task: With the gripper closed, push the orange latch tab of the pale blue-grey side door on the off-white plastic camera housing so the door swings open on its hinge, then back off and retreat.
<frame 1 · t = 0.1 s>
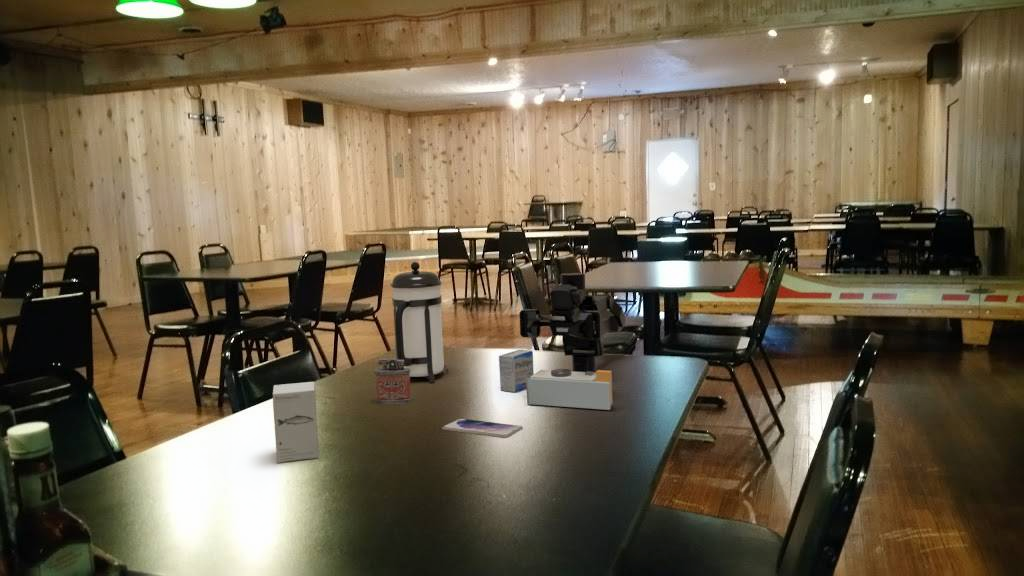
hand: (547, 330, 154), 17 cm above the table, tool horizontal, fingers open, 9 cm apart
side door: (568, 387, 155), point 4 cm above the table, hinge at 0.0°
lighter: (394, 402, 165), on the table
smartphone: (482, 431, 143), on the table
camera housing: (566, 401, 160), on the table
supplement box: (298, 455, 132), on the table
medicine box: (517, 389, 173), on the table
coffee press: (420, 379, 187), on the table
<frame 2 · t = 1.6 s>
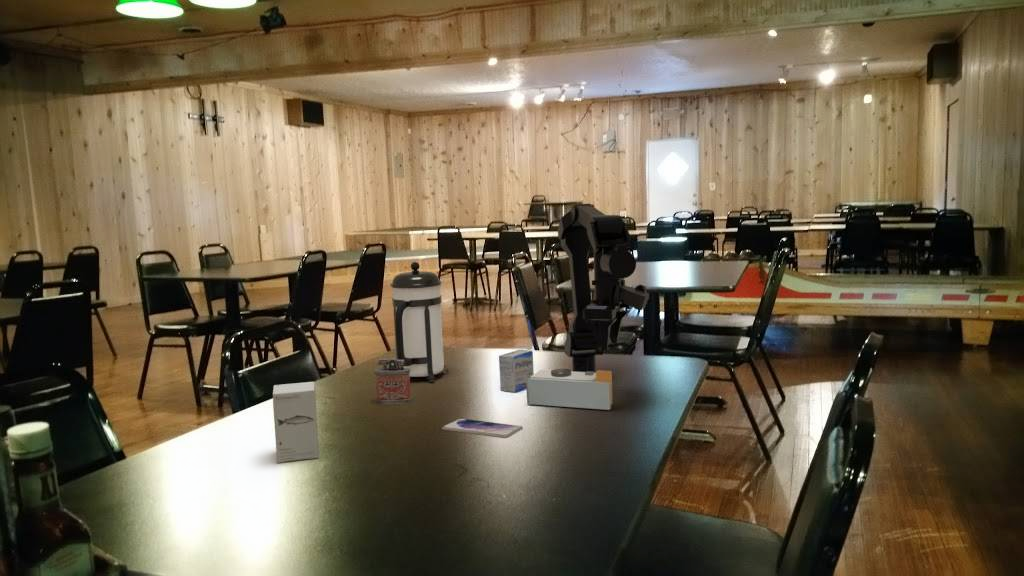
hand: (609, 346, 157), 12 cm above the table, tool pointing down, fingers open, 8 cm apart
nothing on the table moved.
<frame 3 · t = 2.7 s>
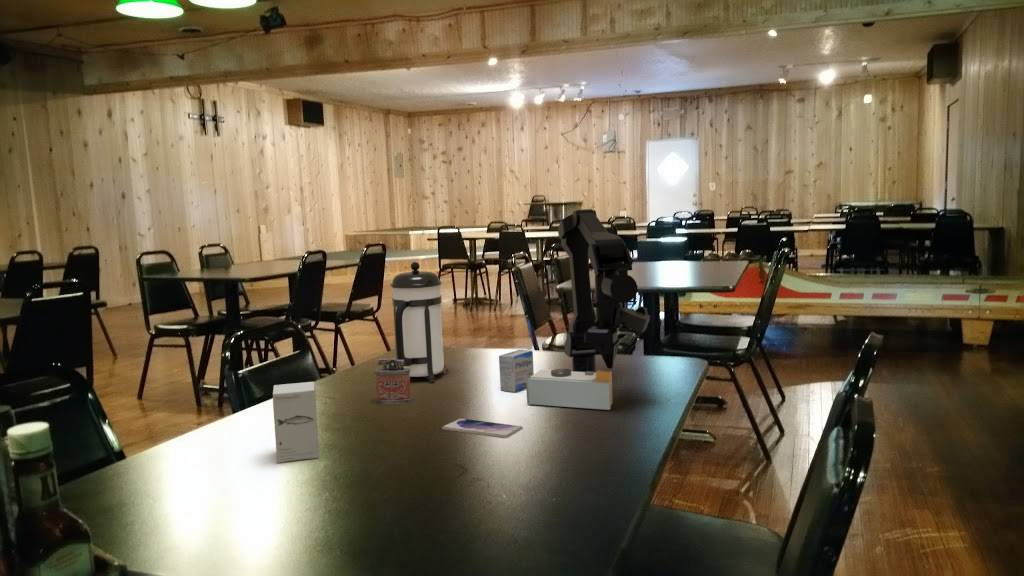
hand: (610, 368, 158), 7 cm above the table, tool pointing down, fingers closed
nothing on the table moved.
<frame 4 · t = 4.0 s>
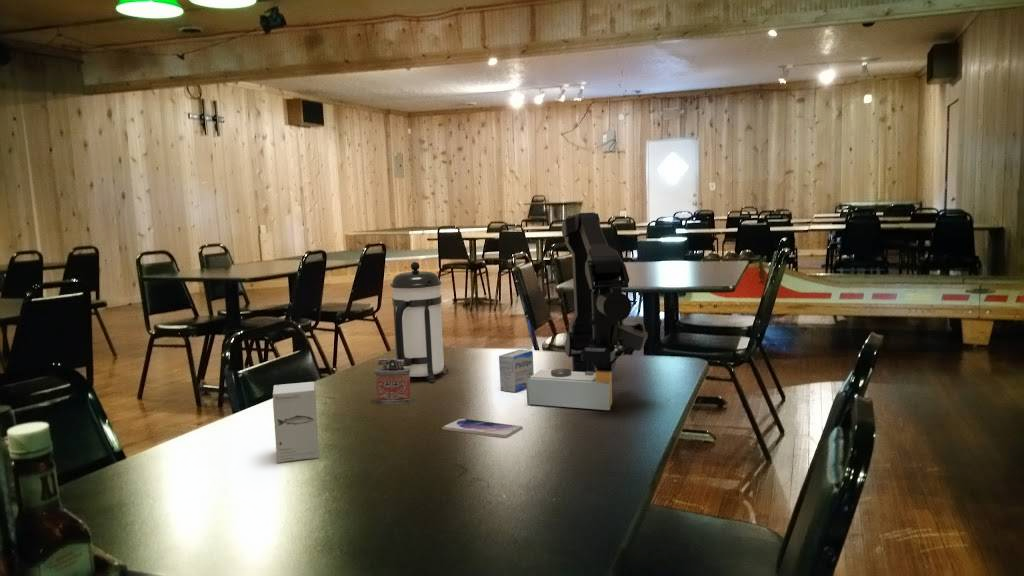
hand: (608, 386, 155), 4 cm above the table, tool pointing down, fingers closed
side door: (568, 387, 155), point 4 cm above the table, hinge at 1.0°, touching gripper
everything else where it was.
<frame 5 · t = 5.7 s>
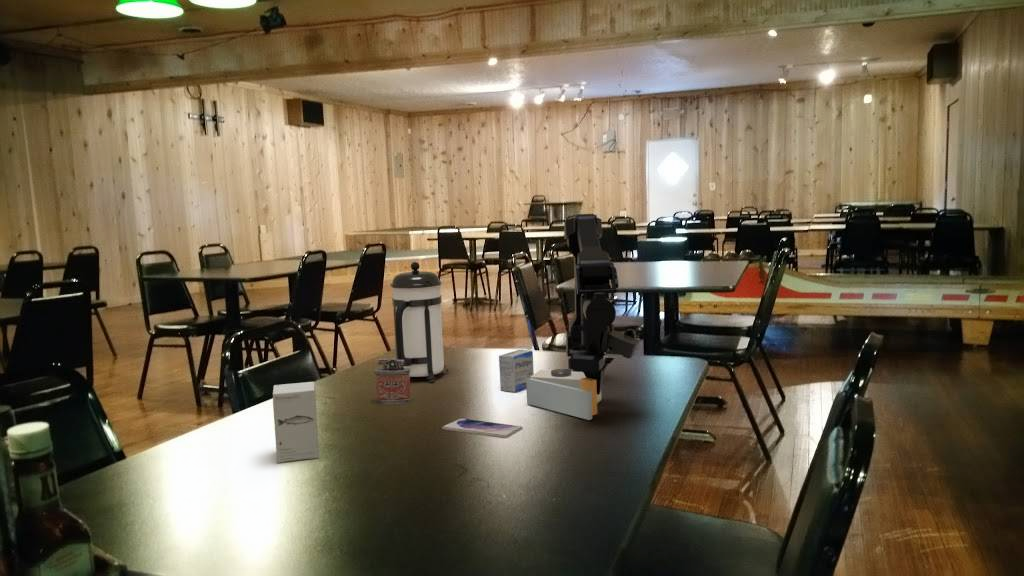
hand: (597, 394, 149), 4 cm above the table, tool pointing down, fingers closed
side door: (559, 392, 152), point 4 cm above the table, hinge at 26.4°, touching gripper
everything else where it was.
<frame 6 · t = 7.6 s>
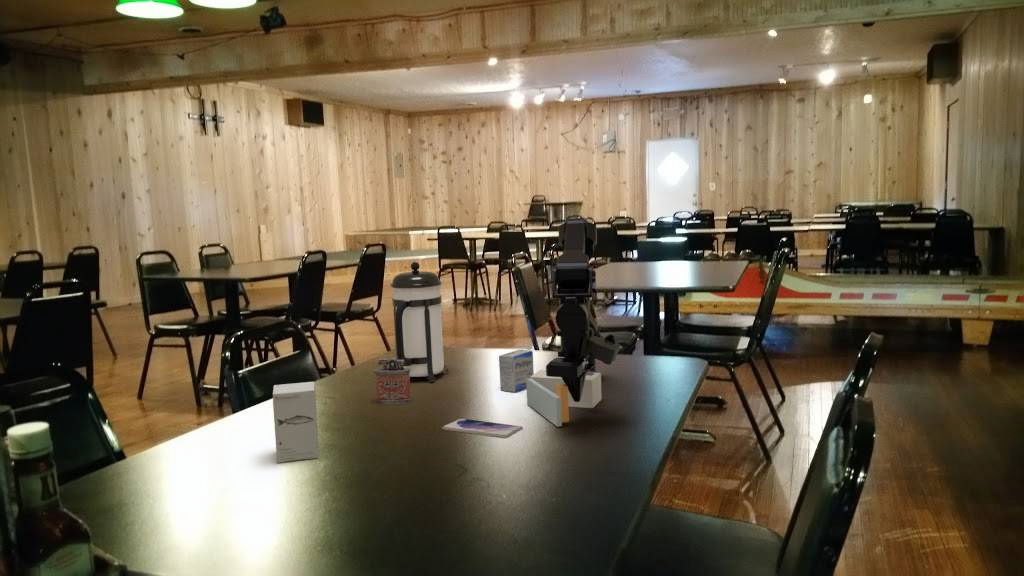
hand: (577, 401, 144), 4 cm above the table, tool pointing down, fingers closed
side door: (545, 395, 150), point 4 cm above the table, hinge at 50.1°, touching gripper
everything else where it was.
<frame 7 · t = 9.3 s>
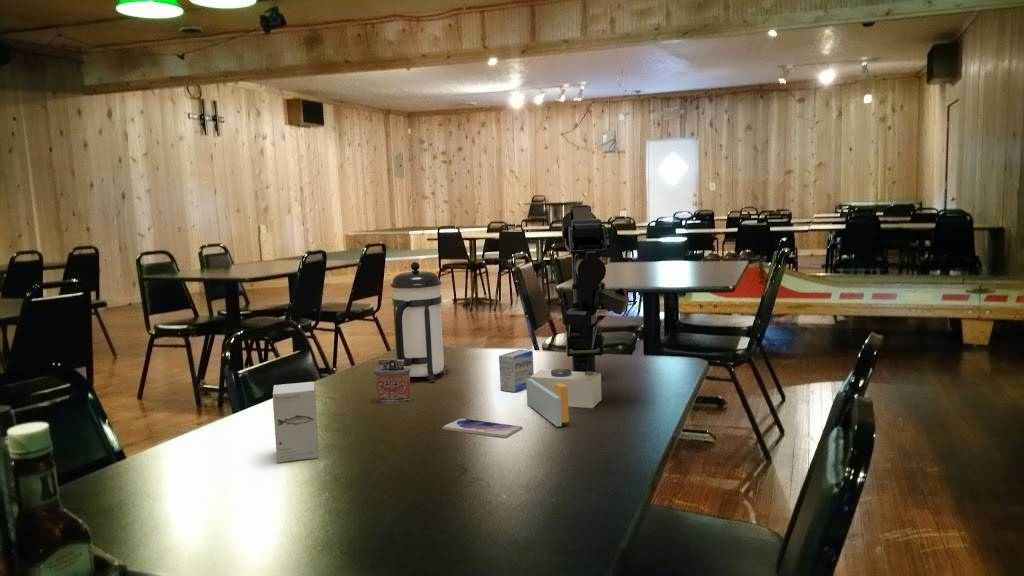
hand: (589, 349, 158), 11 cm above the table, tool pointing down, fingers closed
side door: (545, 395, 150), point 4 cm above the table, hinge at 50.2°
everything else where it was.
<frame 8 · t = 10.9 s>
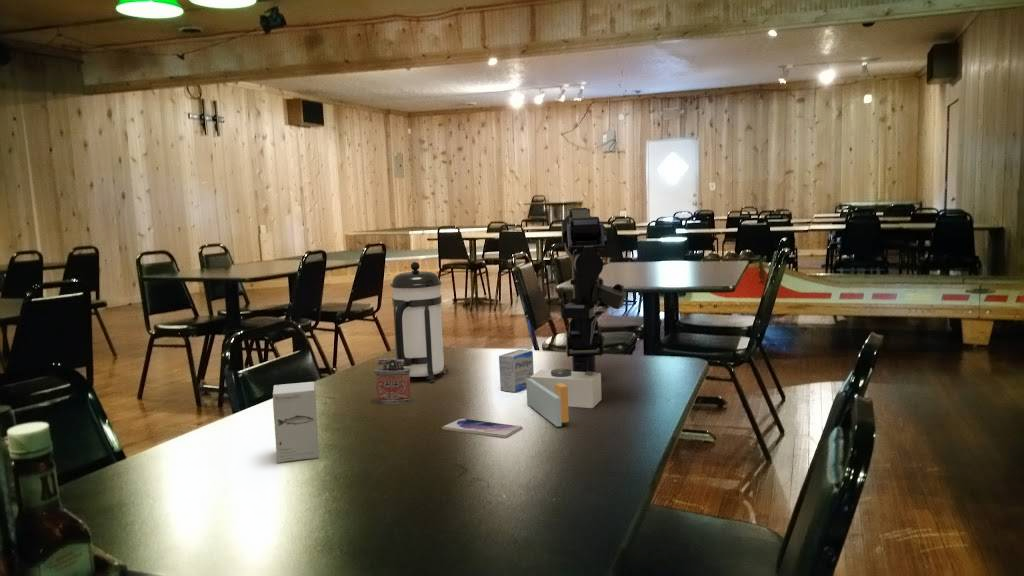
hand: (588, 344, 161), 12 cm above the table, tool pointing down, fingers closed
nothing on the table moved.
at the end: side door at +50° (first picture: +0°); medicine box moved 0.3 cm from its start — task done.
